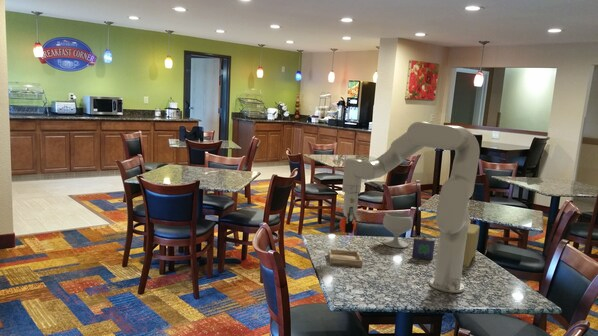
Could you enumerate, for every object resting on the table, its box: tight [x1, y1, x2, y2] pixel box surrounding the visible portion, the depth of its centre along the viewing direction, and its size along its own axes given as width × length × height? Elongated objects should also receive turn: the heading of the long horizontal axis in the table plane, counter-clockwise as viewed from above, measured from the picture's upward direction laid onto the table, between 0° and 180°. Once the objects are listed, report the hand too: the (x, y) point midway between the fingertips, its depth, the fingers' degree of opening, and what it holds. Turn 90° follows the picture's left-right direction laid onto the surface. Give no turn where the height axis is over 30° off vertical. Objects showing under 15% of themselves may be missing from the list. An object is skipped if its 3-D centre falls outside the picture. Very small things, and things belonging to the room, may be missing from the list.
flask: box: [411, 234, 436, 261], centre depth 207 cm, size 9×3×11 cm, turn 87°
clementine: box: [338, 216, 357, 234], centre depth 194 cm, size 8×7×7 cm
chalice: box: [382, 211, 413, 249], centre depth 226 cm, size 14×14×15 cm
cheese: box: [463, 223, 480, 268], centre depth 210 cm, size 22×10×15 cm, turn 162°
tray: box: [327, 248, 364, 268], centre depth 196 cm, size 13×13×2 cm
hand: (347, 229), depth 195 cm, fingers closed on clementine, 8 cm apart
